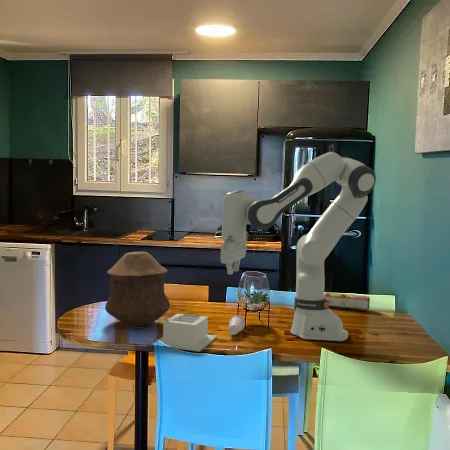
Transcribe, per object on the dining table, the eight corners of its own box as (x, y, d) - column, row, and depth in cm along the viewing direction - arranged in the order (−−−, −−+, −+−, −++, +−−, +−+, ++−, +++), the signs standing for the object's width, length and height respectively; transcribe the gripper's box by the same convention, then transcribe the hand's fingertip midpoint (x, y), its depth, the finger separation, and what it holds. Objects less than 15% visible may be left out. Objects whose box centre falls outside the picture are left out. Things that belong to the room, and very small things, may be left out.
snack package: (368, 311, 245) (369, 307, 251) (369, 298, 243) (370, 294, 250) (323, 307, 251) (325, 303, 258) (323, 294, 250) (325, 290, 257)
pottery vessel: (178, 332, 203) (180, 255, 201) (112, 338, 192) (113, 257, 190) (159, 316, 226) (160, 247, 224) (99, 321, 216) (100, 249, 214)
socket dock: (216, 337, 197) (217, 314, 196) (199, 351, 180) (200, 326, 179) (173, 332, 202) (173, 310, 202) (152, 345, 185) (152, 321, 185)
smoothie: (229, 318, 197) (234, 309, 210) (222, 333, 197) (228, 323, 211) (244, 326, 196) (249, 317, 210) (237, 341, 197) (242, 330, 211)
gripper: (233, 238, 180) (232, 277, 181) (249, 233, 200) (248, 269, 201) (216, 237, 182) (215, 276, 183) (233, 232, 201) (233, 268, 203)
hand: (233, 272), depth 192 cm, fingers open, 6 cm apart
